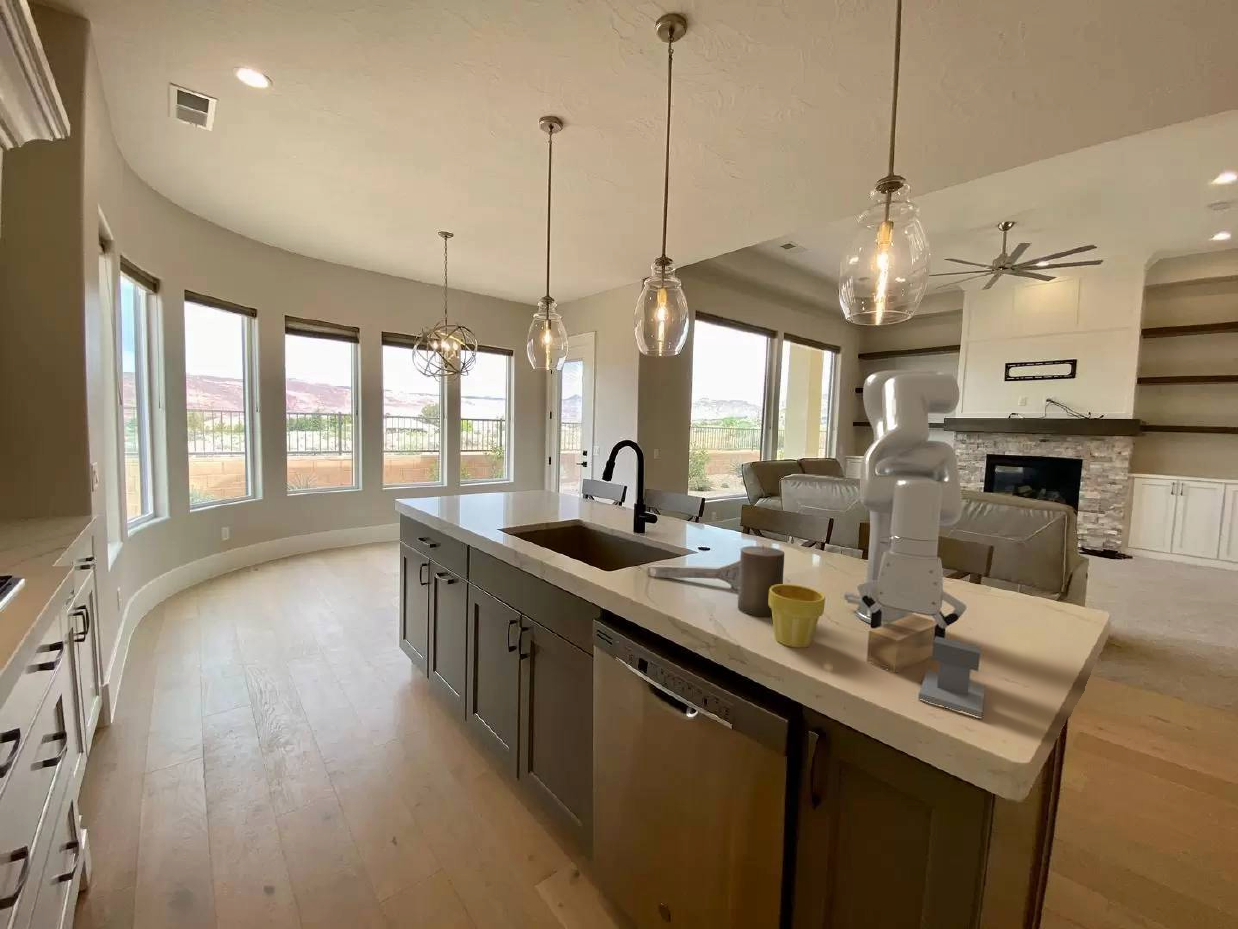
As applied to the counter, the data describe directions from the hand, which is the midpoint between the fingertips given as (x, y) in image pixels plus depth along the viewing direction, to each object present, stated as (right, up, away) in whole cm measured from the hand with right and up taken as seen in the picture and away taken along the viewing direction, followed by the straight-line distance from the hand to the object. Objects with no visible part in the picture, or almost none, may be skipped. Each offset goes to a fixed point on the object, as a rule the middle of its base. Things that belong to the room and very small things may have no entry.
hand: (905, 640), depth 94 cm
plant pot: (-18, -3, +7) cm, 20 cm away
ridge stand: (0, -5, -13) cm, 13 cm away
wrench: (-31, 0, +41) cm, 52 cm away
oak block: (0, -4, +1) cm, 4 cm away
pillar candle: (-21, -1, +23) cm, 31 cm away
